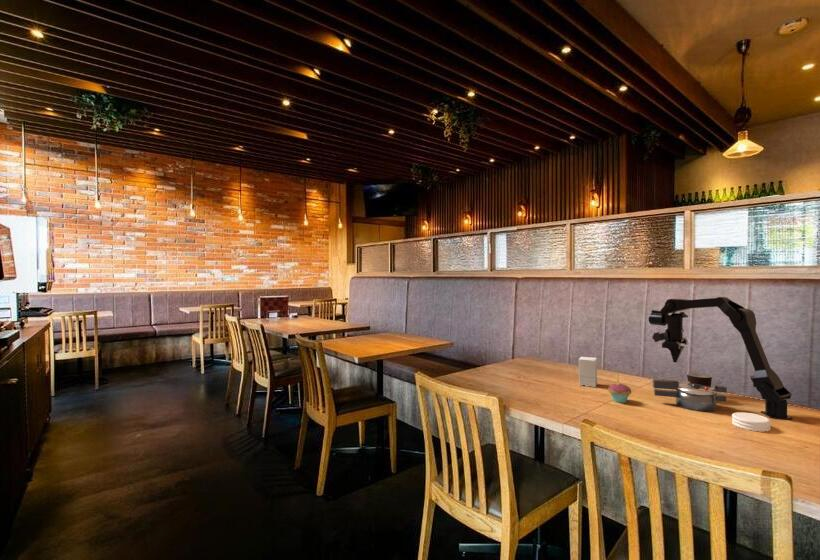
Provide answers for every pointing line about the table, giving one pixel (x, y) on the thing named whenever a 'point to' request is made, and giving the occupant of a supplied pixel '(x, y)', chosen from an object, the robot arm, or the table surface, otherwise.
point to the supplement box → (588, 371)
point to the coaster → (751, 421)
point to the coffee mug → (699, 378)
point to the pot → (692, 400)
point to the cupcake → (619, 392)
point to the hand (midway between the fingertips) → (675, 362)
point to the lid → (688, 387)
